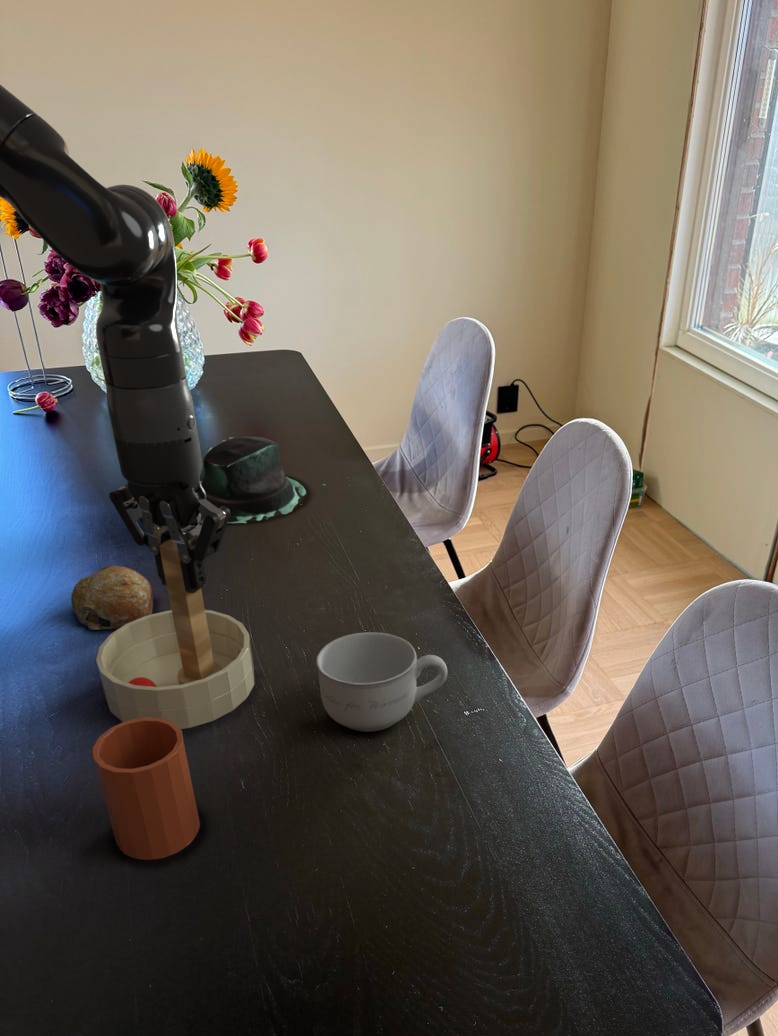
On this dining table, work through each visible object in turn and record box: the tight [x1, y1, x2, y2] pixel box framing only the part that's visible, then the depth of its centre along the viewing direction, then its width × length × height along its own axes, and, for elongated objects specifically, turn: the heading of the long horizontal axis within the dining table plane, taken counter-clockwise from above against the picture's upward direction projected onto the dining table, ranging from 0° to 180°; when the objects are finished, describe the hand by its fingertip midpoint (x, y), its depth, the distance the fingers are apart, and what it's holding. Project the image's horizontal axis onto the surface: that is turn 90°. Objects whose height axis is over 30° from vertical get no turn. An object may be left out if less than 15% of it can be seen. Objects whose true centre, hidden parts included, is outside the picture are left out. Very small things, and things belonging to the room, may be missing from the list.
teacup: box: [315, 631, 448, 733], centre depth 97 cm, size 14×11×8 cm
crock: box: [92, 717, 201, 861], centre depth 80 cm, size 7×7×11 cm
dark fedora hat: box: [200, 436, 307, 524], centre depth 146 cm, size 15×19×20 cm
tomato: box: [128, 677, 157, 687], centre depth 97 cm, size 4×4×4 cm
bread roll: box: [70, 565, 154, 631], centre depth 114 cm, size 10×10×8 cm
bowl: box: [95, 609, 255, 730], centre depth 100 cm, size 16×16×6 cm
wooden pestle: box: [159, 539, 222, 685], centre depth 95 cm, size 5×5×18 cm
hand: (183, 585), depth 92 cm, fingers closed on wooden pestle, 2 cm apart
